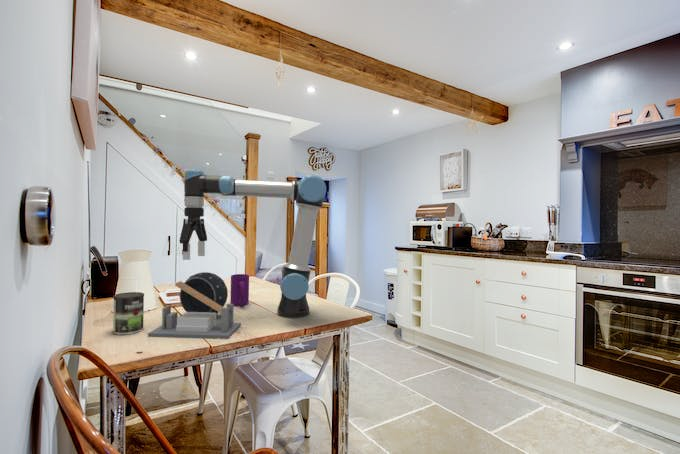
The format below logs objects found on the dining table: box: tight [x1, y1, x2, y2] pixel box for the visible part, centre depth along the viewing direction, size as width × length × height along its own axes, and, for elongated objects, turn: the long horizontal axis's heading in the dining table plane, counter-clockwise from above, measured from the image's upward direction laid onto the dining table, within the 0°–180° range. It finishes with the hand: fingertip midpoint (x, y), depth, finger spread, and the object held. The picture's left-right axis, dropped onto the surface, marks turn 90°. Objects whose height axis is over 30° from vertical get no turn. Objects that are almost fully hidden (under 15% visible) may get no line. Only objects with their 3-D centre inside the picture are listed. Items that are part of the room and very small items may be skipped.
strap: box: [174, 280, 232, 315], centre depth 138 cm, size 24×4×2 cm
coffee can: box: [112, 291, 145, 336], centre depth 137 cm, size 10×10×14 cm
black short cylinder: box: [179, 271, 229, 314], centre depth 157 cm, size 11×20×20 cm, turn 78°
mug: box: [229, 273, 250, 307], centre depth 179 cm, size 9×16×15 cm, turn 24°
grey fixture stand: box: [147, 303, 242, 340], centre depth 138 cm, size 30×16×10 cm, turn 89°
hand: (194, 257), depth 148 cm, fingers open, 13 cm apart
